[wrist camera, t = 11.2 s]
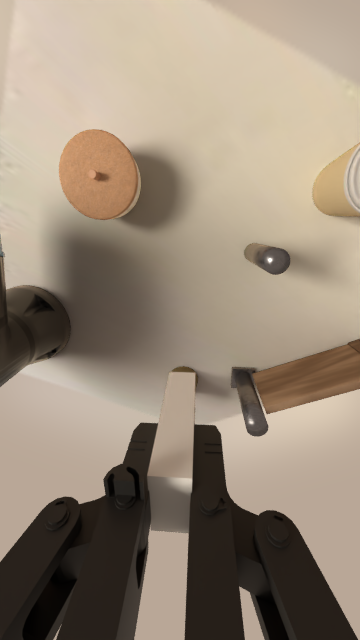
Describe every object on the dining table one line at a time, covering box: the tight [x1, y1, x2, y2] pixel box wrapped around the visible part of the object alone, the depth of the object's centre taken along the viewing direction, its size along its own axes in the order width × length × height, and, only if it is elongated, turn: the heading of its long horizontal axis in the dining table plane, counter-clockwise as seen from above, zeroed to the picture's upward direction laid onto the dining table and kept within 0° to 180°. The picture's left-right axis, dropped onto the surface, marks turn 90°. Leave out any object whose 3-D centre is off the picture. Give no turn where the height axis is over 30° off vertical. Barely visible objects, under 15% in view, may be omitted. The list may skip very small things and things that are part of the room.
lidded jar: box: [59, 129, 141, 220], centre depth 36 cm, size 11×11×9 cm
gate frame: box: [231, 243, 290, 436], centre depth 40 cm, size 4×28×14 cm, turn 0°
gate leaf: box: [252, 339, 360, 414], centre depth 42 cm, size 2×20×11 cm, turn 113°
